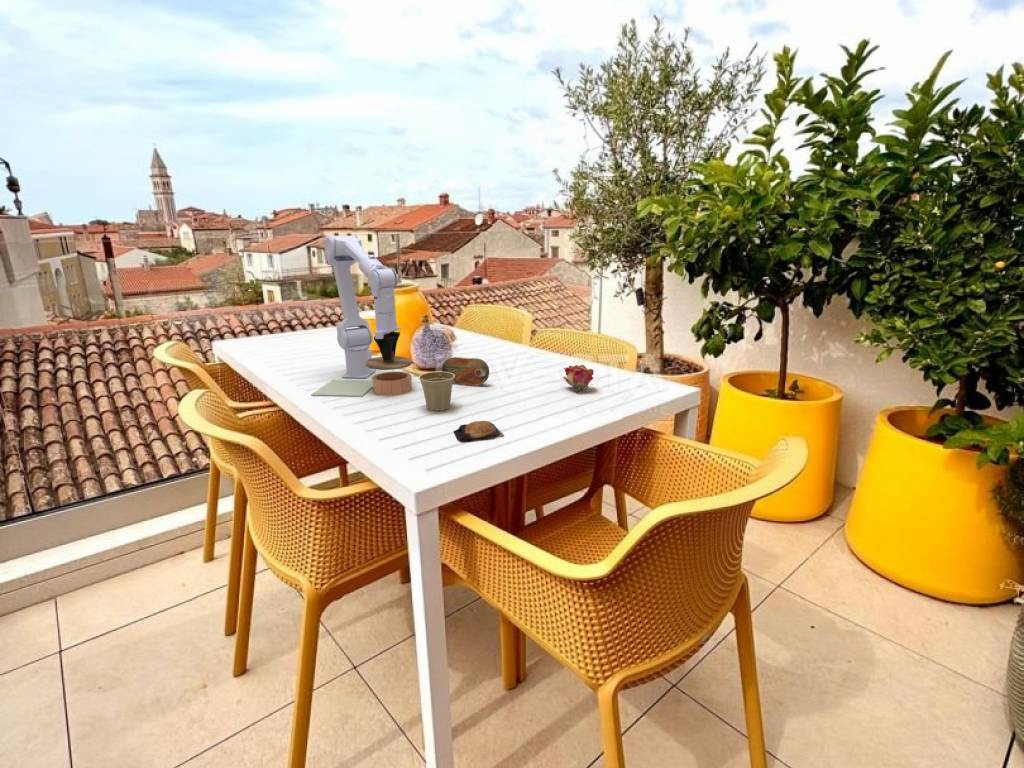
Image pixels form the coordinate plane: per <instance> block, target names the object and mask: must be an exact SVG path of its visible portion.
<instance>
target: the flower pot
mask: <svg viewBox="0 0 1024 768" xmlns="http://www.w3.org/2000/svg"><path fill="white" fill-rule="evenodd" d="M454 378H455V375H454V374H453V373H449V372H442V370H441V371H430V372H424V373H422V374H420V375H419V376H418V380H420V384H421V387H422V389H423V394H424V400H425V405H426V409H428V410H431V411H434V412H435V411H438V410H439V411H444V410H448V409H449V408H450V407H451V399H452V389H453V384H452V383H453V380H454Z"/></svg>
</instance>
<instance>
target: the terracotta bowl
mask: <svg viewBox="0 0 1024 768" xmlns="http://www.w3.org/2000/svg"><path fill="white" fill-rule="evenodd" d="M371 381H372V384H373V388H372V391H373V392H374V394H377V395H380V396H395V395H402V394H406V393H408V392H409V393H410V391H411V390H412V389H413V382H412V374H410V373H409V372H406V371H385V372H379V373H377V374H374V375H373V376H372V377H371Z"/></svg>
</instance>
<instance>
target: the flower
mask: <svg viewBox="0 0 1024 768" xmlns="http://www.w3.org/2000/svg"><path fill="white" fill-rule="evenodd" d="M563 369H564V372H565V376H562V378H563V380H564V382H566V383H567V384H568V385H569V386H571V387H572V388H574V389H575V393H576V394H578V393H579V391H580V390H582V391H583V390H587V388H589V387H590V386H592V385H594V383H592V384H590V383H591V381H592V380H594V377H593V375H594V369H593V368H587V367H586V365H584V364H581V365H569V366H568V367H567V366H566V367H563Z"/></svg>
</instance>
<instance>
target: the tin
mask: <svg viewBox="0 0 1024 768" xmlns="http://www.w3.org/2000/svg"><path fill="white" fill-rule="evenodd" d="M441 371H442V372H449V373H453V374H454V375H455V378H454V380H453V383H452V385H458V386H470V387H479V386H482V385H483V384H485V383H486V381H488V378H489V377H490V368H489V365H488V364H487V362H486V361H485V360H483V359H481V358H477V357H476V358H475V357H461V356H454V357H450V358H447V359H446V360H445V361H444V362H443V364H442V366H441Z"/></svg>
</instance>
